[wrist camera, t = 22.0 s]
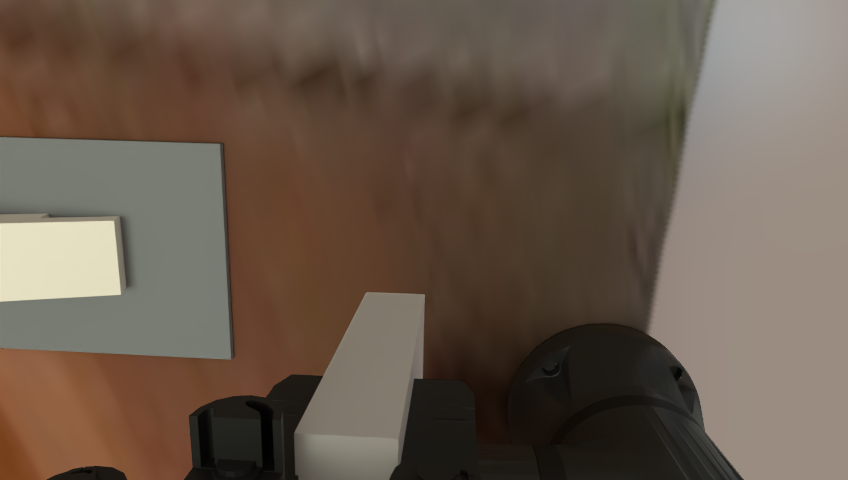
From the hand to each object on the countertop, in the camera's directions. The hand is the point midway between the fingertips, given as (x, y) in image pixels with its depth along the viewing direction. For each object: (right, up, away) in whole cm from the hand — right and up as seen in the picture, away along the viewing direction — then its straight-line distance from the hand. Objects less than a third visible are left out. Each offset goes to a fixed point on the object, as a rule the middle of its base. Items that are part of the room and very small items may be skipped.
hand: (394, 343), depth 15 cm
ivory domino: (-24, +1, +31) cm, 39 cm away
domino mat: (-34, +2, +33) cm, 47 cm away
